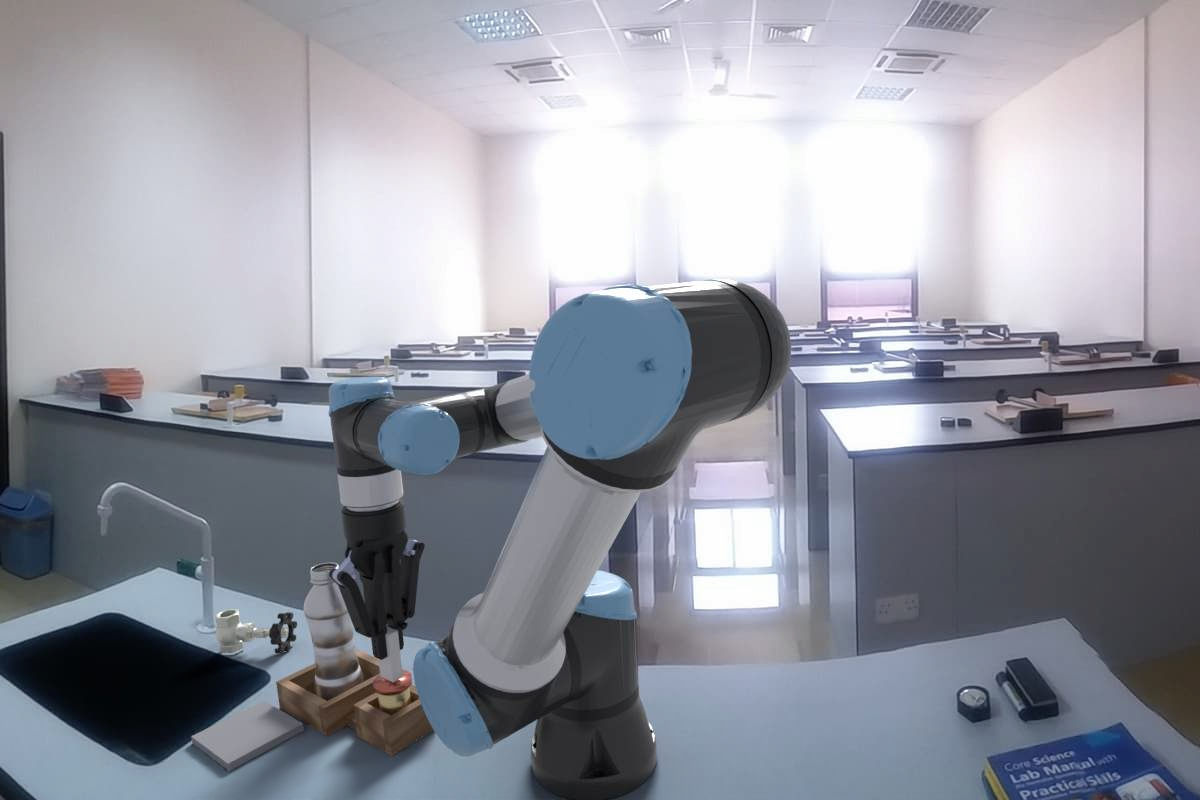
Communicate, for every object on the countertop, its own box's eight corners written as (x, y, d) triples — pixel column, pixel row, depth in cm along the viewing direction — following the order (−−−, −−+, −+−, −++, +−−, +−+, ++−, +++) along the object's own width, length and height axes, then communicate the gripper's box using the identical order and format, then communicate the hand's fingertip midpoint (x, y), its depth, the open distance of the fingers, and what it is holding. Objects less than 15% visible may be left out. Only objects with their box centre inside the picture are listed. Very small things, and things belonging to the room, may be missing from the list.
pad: (303, 730, 102) (302, 723, 102) (229, 771, 94) (228, 763, 94) (265, 706, 108) (264, 700, 108) (192, 743, 101) (191, 736, 100)
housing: (451, 718, 103) (448, 687, 102) (377, 765, 94) (373, 732, 93) (353, 670, 117) (349, 643, 116) (279, 707, 108) (275, 678, 107)
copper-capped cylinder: (423, 722, 101) (419, 676, 100) (393, 741, 97) (388, 693, 96) (401, 711, 104) (396, 665, 103) (371, 728, 100) (365, 682, 99)
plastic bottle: (351, 715, 105) (334, 577, 101) (306, 712, 106) (288, 576, 103) (374, 690, 111) (358, 559, 108) (331, 687, 112) (315, 558, 109)
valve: (208, 661, 123) (278, 662, 121) (202, 622, 122) (273, 623, 120) (232, 641, 129) (299, 641, 128) (227, 604, 128) (294, 604, 126)
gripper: (397, 484, 103) (413, 648, 107) (308, 512, 93) (330, 691, 97) (433, 492, 98) (449, 663, 102) (344, 522, 88) (365, 710, 92)
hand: (391, 676), depth 99 cm, fingers closed
